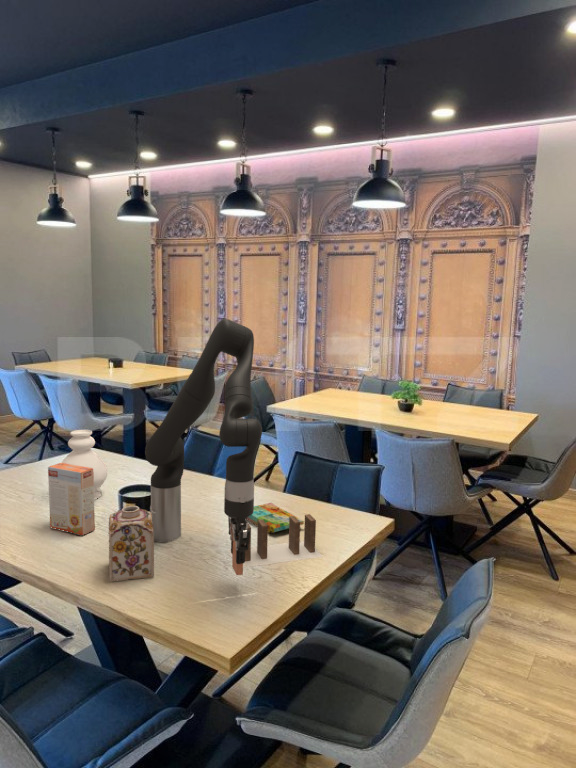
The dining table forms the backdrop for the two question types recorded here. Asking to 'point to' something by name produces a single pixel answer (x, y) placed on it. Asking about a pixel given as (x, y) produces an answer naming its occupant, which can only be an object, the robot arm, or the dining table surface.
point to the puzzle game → (271, 517)
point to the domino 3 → (262, 539)
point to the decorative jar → (131, 544)
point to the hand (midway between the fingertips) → (237, 558)
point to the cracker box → (71, 498)
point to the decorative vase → (86, 457)
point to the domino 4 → (294, 534)
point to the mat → (279, 555)
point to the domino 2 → (248, 552)
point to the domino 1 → (237, 567)
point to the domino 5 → (309, 533)
